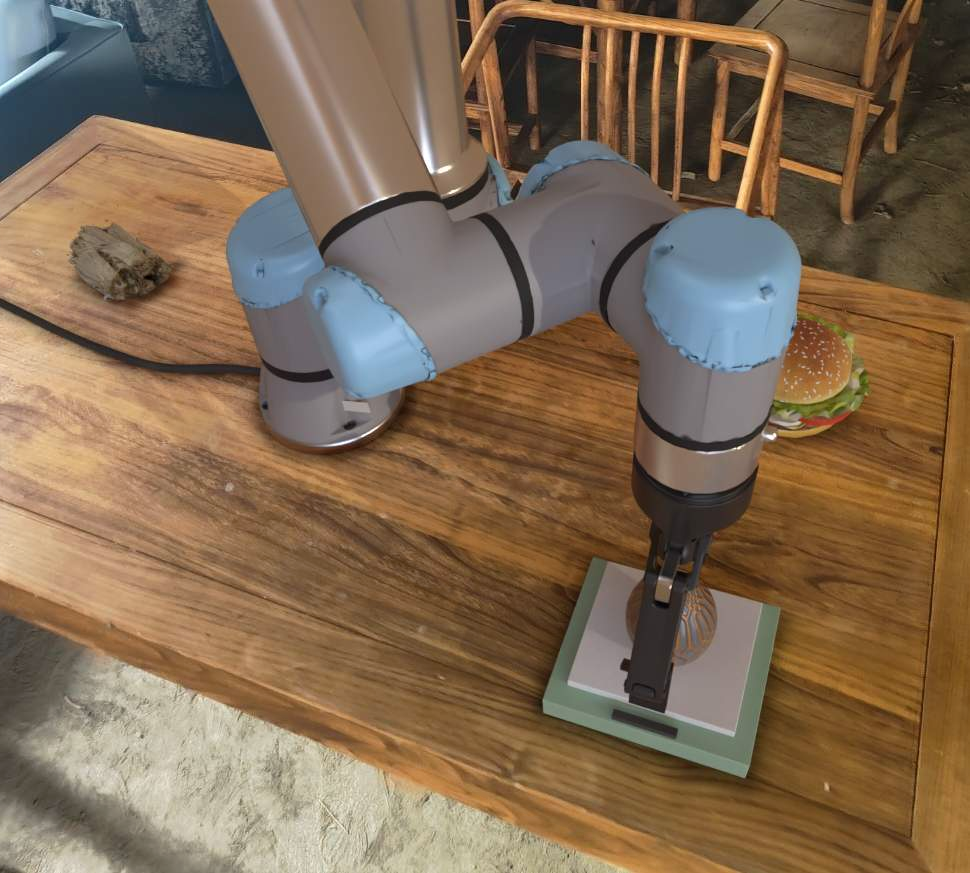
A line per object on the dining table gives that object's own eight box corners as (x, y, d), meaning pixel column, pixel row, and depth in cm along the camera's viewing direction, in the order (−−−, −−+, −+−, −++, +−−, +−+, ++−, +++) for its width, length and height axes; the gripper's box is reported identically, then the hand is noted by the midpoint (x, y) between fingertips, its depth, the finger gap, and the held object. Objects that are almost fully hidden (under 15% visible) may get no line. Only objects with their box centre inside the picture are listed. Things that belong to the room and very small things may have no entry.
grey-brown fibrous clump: (190, 278, 114) (176, 243, 110) (123, 320, 110) (106, 284, 106) (126, 234, 121) (111, 199, 117) (61, 271, 117) (43, 237, 113)
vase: (709, 686, 71) (723, 629, 64) (619, 672, 72) (623, 615, 66) (713, 608, 75) (726, 547, 69) (628, 596, 77) (633, 536, 70)
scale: (542, 713, 74) (541, 695, 72) (592, 571, 82) (593, 550, 80) (745, 778, 70) (751, 761, 67) (776, 621, 78) (783, 601, 75)
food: (854, 463, 88) (874, 407, 82) (705, 431, 92) (715, 375, 86) (868, 365, 96) (888, 307, 90) (731, 339, 100) (742, 282, 94)
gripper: (716, 645, 48) (680, 794, 64) (792, 327, 62) (748, 513, 78) (575, 605, 50) (575, 759, 66) (681, 307, 64) (660, 492, 81)
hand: (669, 626), depth 72 cm, fingers open, 13 cm apart
